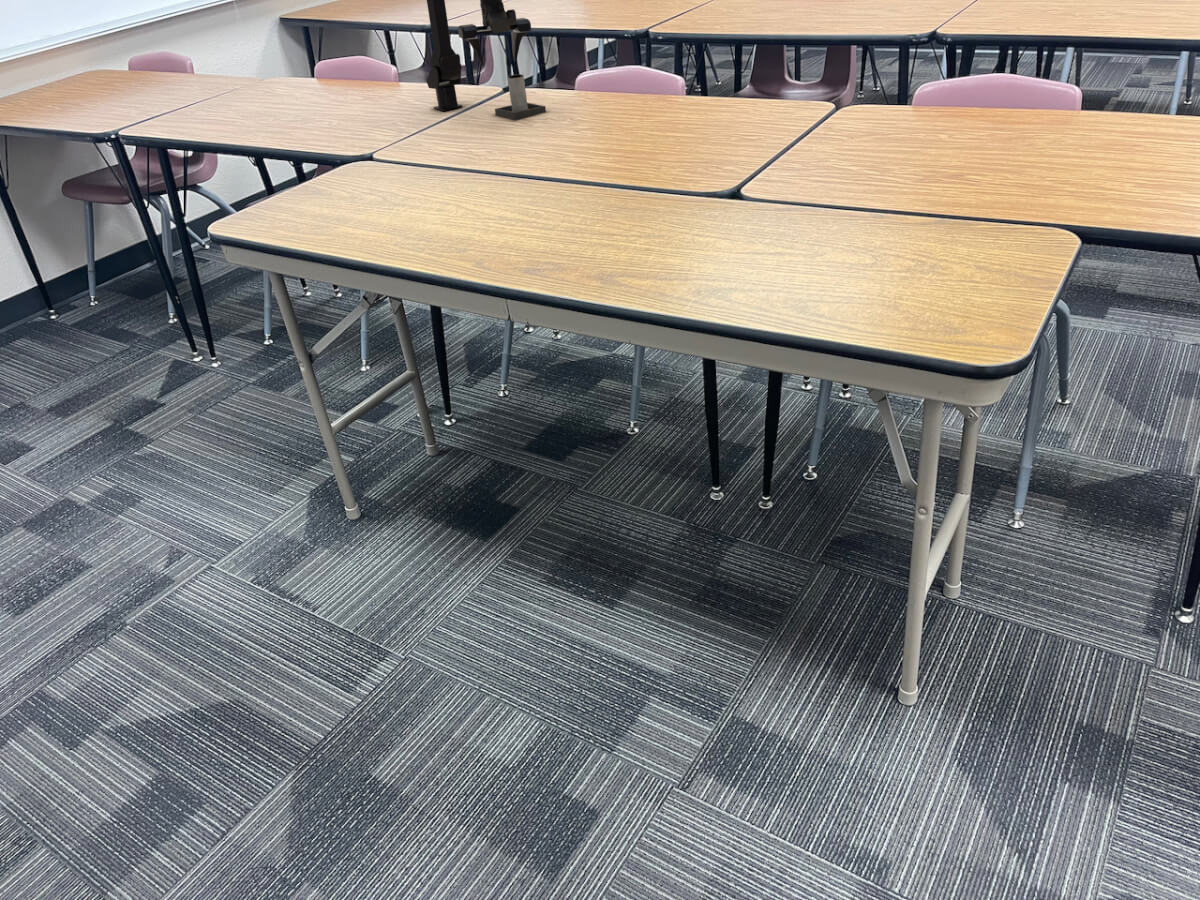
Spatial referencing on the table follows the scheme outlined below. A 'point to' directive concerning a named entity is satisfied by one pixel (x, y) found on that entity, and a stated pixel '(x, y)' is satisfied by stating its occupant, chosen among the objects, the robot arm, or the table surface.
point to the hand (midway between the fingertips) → (499, 63)
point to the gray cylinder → (517, 92)
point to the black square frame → (520, 112)
